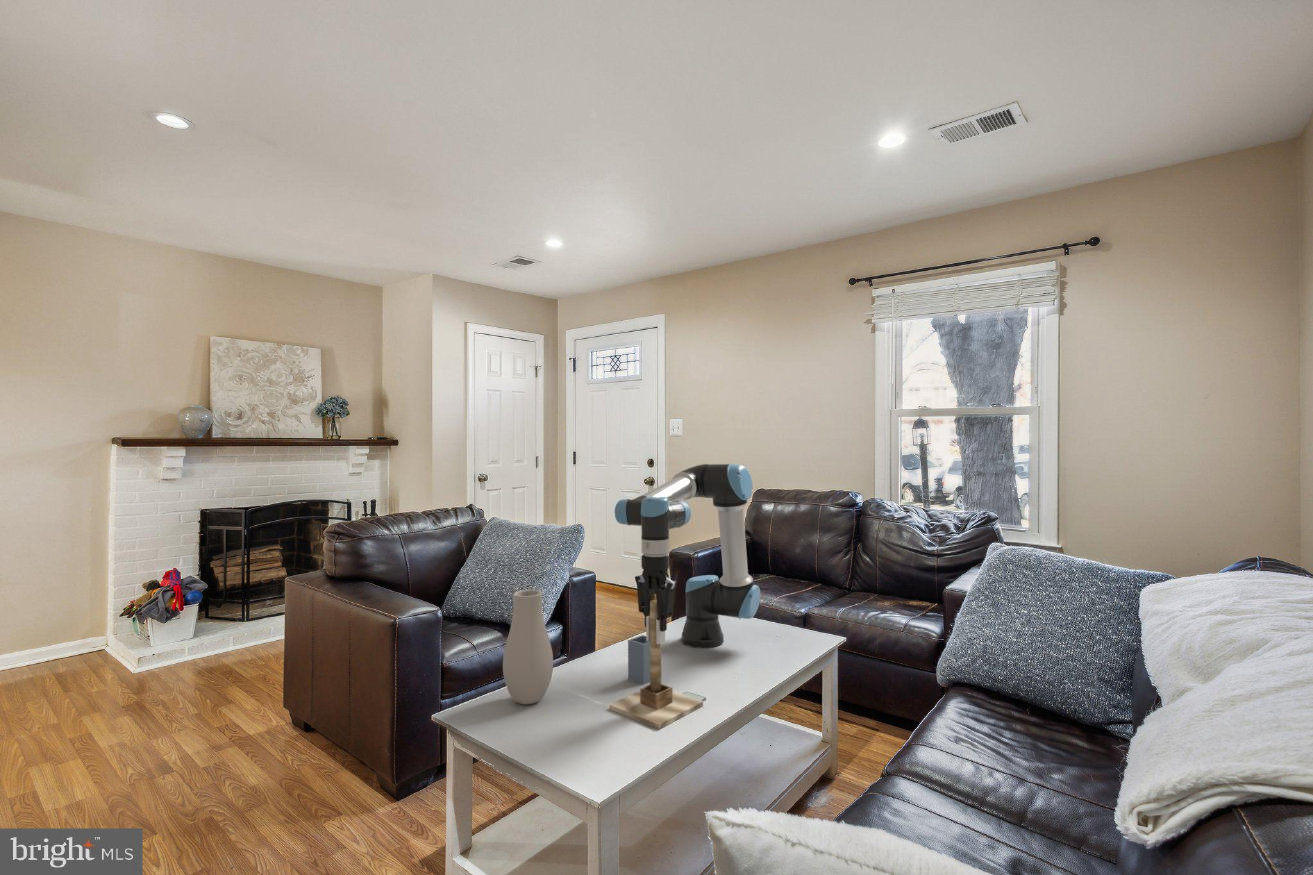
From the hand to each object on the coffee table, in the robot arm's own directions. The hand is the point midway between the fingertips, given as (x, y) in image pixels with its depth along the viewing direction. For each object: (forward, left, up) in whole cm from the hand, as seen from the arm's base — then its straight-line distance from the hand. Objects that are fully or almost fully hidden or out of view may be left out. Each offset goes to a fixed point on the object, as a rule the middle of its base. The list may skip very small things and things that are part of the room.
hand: (655, 641), depth 165 cm
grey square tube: (-12, -16, -18) cm, 27 cm away
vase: (+20, -30, -18) cm, 40 cm away
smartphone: (-6, +4, -19) cm, 20 cm away
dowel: (0, 0, -13) cm, 13 cm away
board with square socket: (0, 0, -18) cm, 18 cm away
